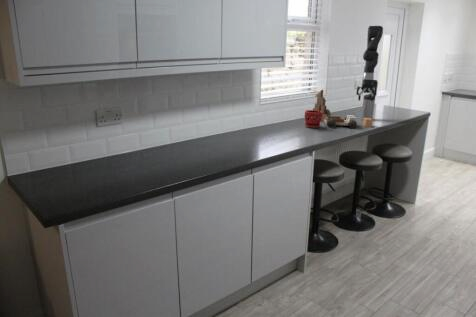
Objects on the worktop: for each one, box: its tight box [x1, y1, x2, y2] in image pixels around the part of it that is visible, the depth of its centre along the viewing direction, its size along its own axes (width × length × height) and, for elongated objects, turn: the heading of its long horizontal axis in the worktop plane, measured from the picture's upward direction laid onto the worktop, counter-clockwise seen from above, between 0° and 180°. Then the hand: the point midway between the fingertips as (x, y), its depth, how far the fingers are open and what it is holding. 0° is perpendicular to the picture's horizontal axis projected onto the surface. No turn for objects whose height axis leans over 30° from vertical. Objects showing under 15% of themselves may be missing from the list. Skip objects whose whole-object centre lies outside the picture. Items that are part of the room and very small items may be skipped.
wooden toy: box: [311, 89, 332, 123], centre depth 318 cm, size 16×7×25 cm, turn 41°
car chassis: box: [323, 114, 358, 129], centre depth 304 cm, size 17×22×8 cm
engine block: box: [362, 118, 374, 128], centre depth 305 cm, size 7×5×6 cm
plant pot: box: [304, 109, 323, 129], centre depth 296 cm, size 13×13×12 cm
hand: (365, 101), depth 294 cm, fingers open, 8 cm apart
